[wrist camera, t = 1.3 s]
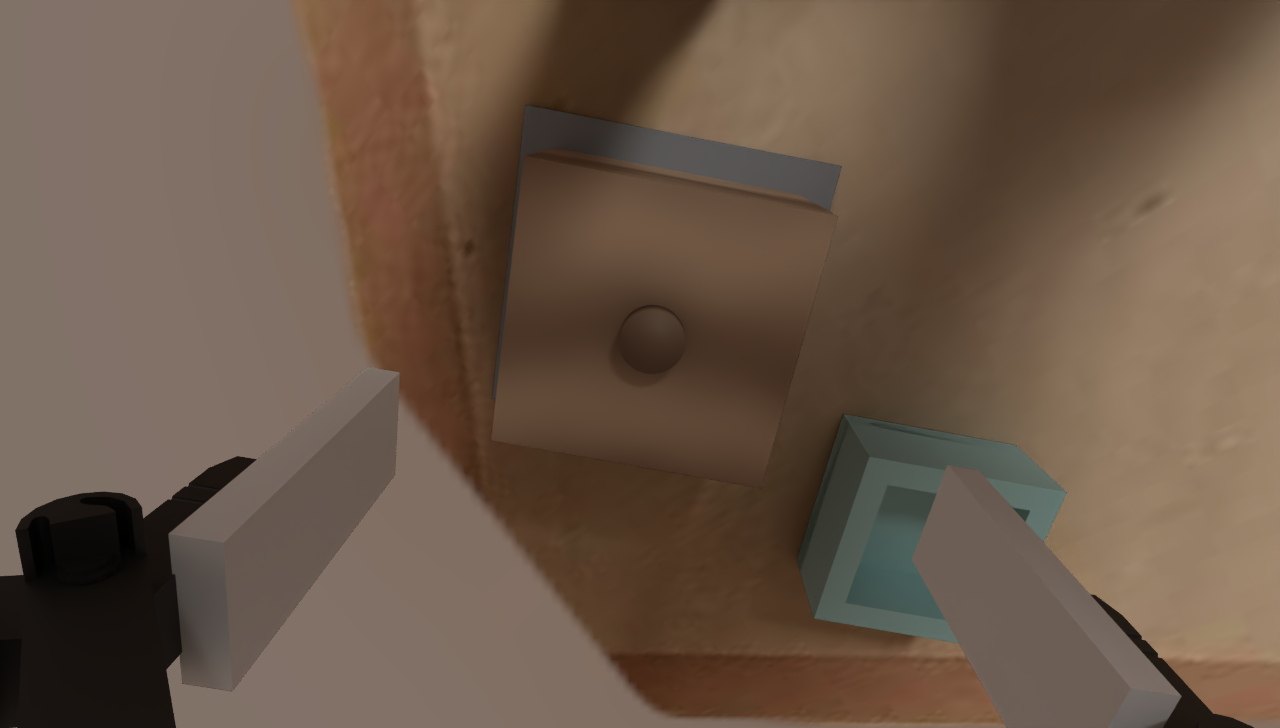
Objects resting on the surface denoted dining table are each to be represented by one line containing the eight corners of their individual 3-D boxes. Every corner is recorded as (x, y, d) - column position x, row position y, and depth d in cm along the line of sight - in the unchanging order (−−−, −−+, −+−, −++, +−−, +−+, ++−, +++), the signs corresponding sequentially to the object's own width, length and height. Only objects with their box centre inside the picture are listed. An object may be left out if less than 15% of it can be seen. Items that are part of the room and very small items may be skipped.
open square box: (843, 414, 33) (869, 456, 29) (1016, 445, 34) (1067, 492, 29) (796, 560, 37) (813, 618, 32) (955, 588, 37) (993, 649, 33)
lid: (555, 147, 29) (518, 157, 22) (799, 194, 30) (844, 219, 22) (524, 376, 33) (485, 449, 26) (741, 415, 33) (763, 499, 26)
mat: (526, 104, 29) (525, 104, 29) (840, 166, 29) (841, 166, 29) (493, 396, 34) (491, 398, 34) (762, 445, 34) (763, 447, 34)
